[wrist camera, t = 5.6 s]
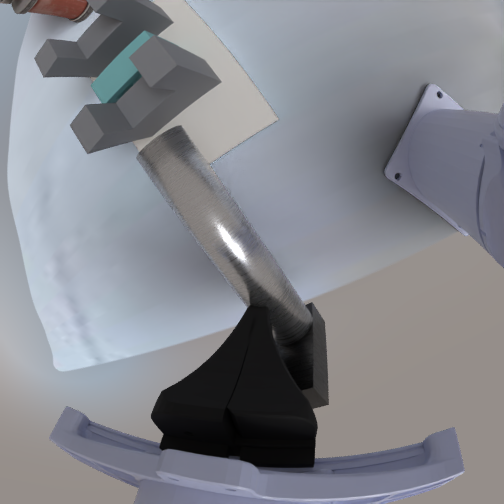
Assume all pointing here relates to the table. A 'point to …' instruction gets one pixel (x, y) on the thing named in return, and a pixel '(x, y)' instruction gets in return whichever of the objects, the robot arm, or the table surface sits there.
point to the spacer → (120, 73)
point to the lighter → (53, 8)
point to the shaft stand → (160, 79)
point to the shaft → (239, 255)
